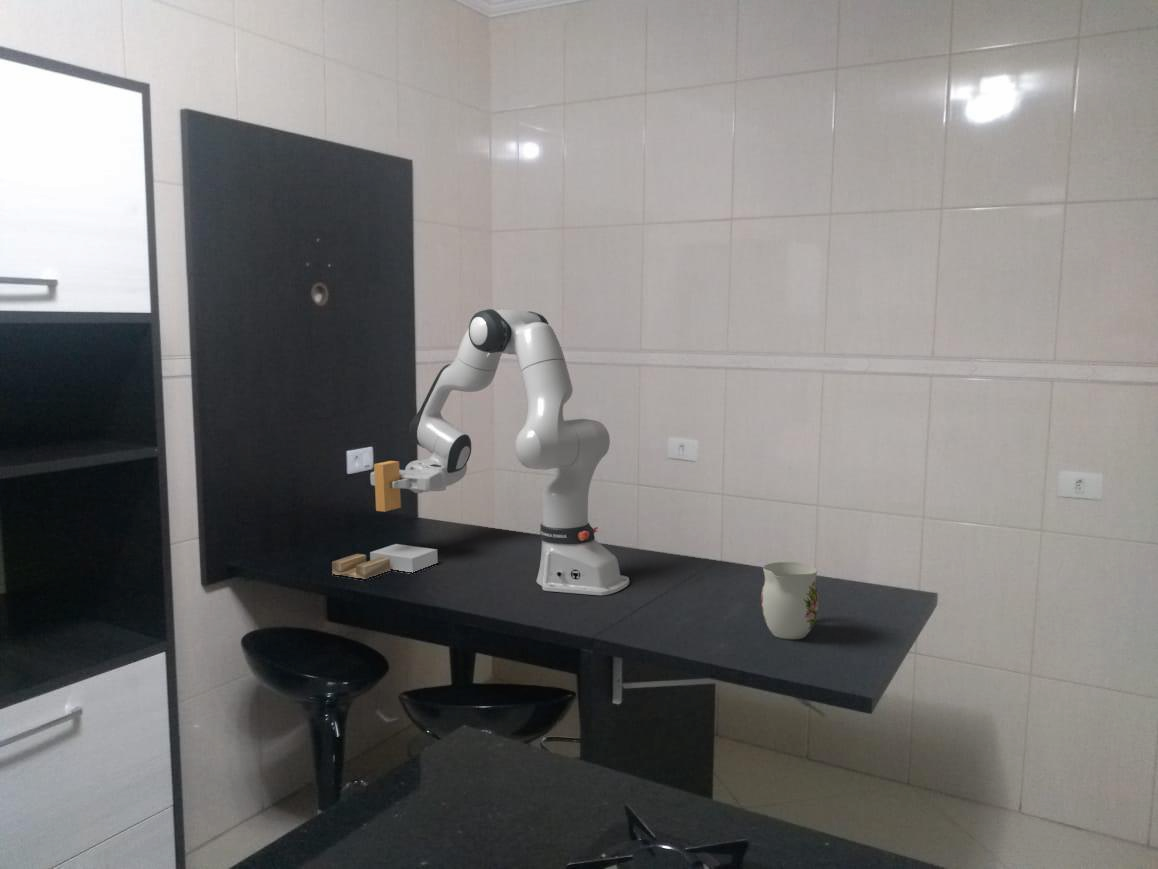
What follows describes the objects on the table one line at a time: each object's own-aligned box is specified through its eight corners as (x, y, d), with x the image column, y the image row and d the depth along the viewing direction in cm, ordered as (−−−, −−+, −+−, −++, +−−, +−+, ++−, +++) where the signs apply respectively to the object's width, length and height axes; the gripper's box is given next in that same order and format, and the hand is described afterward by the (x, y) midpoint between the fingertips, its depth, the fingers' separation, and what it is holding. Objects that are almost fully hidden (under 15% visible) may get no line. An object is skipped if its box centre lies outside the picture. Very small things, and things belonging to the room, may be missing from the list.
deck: (437, 564, 229) (437, 549, 228) (412, 573, 220) (412, 558, 220) (396, 558, 236) (395, 543, 235) (370, 567, 227) (370, 552, 226)
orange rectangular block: (401, 507, 226) (399, 461, 225) (385, 511, 221) (382, 464, 219) (392, 506, 228) (390, 460, 226) (376, 510, 222) (373, 464, 221)
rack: (390, 571, 222) (389, 558, 222) (365, 580, 215) (364, 566, 214) (357, 566, 228) (357, 553, 227) (332, 575, 220) (331, 561, 220)
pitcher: (828, 622, 179) (829, 556, 177) (807, 651, 163) (808, 579, 162) (775, 614, 184) (776, 551, 182) (749, 642, 168) (750, 572, 167)
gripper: (390, 462, 239) (354, 469, 227) (449, 467, 229) (415, 475, 217) (391, 484, 240) (355, 493, 228) (450, 490, 230) (416, 500, 218)
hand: (385, 484), depth 223 cm, fingers closed on orange rectangular block, 3 cm apart
